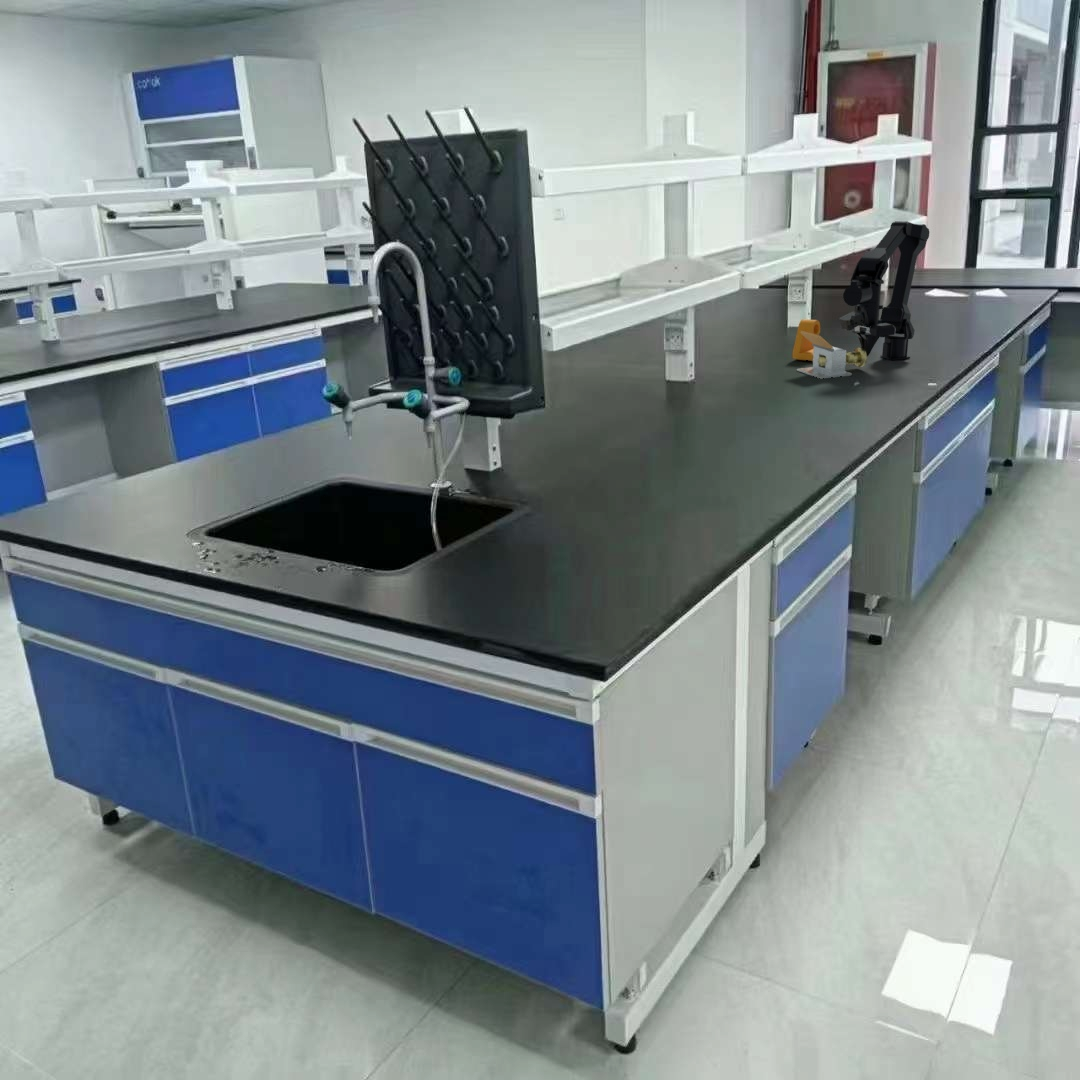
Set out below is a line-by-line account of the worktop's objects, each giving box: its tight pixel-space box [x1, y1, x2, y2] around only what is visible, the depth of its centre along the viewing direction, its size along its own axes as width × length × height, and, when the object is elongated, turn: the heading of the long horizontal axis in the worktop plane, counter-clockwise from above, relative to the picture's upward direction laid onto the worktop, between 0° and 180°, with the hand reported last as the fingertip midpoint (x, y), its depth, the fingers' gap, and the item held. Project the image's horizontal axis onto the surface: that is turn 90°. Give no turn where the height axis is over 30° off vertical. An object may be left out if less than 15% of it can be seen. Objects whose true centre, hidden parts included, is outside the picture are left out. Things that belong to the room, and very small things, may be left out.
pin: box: [818, 346, 868, 368], centre depth 300 cm, size 14×6×6 cm, turn 107°
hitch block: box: [796, 345, 853, 380], centre depth 299 cm, size 10×13×7 cm
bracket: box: [792, 318, 821, 362], centre depth 318 cm, size 11×7×12 cm, turn 138°
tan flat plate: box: [800, 331, 834, 352], centre depth 296 cm, size 6×10×1 cm
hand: (865, 356), depth 302 cm, fingers closed
